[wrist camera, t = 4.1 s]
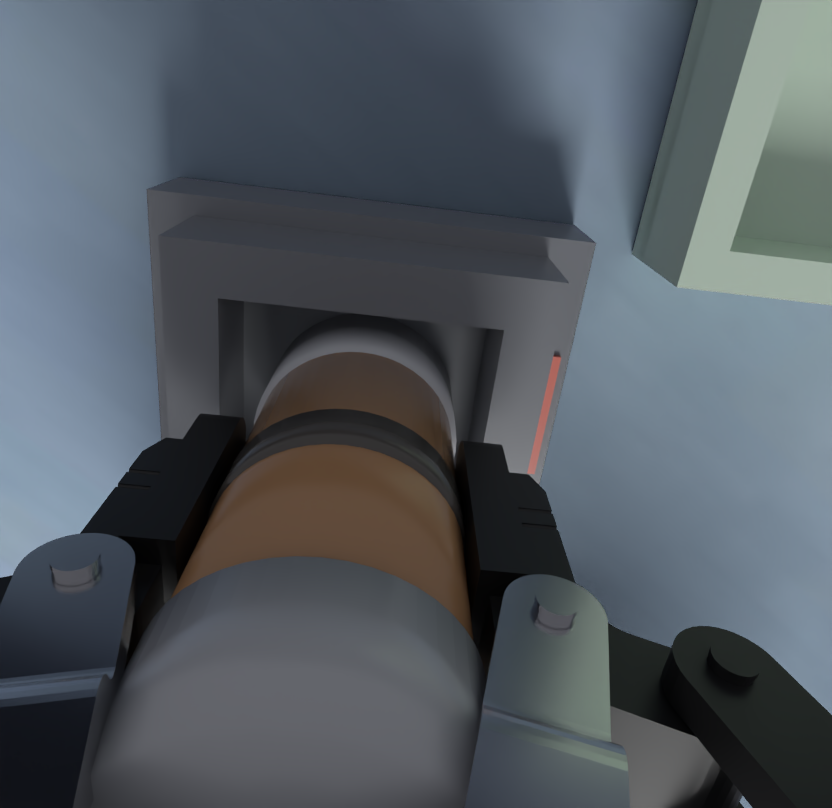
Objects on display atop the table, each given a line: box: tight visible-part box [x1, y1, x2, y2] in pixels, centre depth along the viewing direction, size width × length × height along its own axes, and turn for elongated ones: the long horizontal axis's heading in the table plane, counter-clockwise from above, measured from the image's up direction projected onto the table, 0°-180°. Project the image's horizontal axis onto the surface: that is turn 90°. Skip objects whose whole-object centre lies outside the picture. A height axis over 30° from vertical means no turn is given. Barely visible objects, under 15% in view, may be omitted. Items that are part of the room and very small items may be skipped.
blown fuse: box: [91, 314, 486, 808], centre depth 10 cm, size 4×4×10 cm
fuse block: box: [147, 177, 596, 484], centre depth 17 cm, size 9×18×4 cm, turn 173°
